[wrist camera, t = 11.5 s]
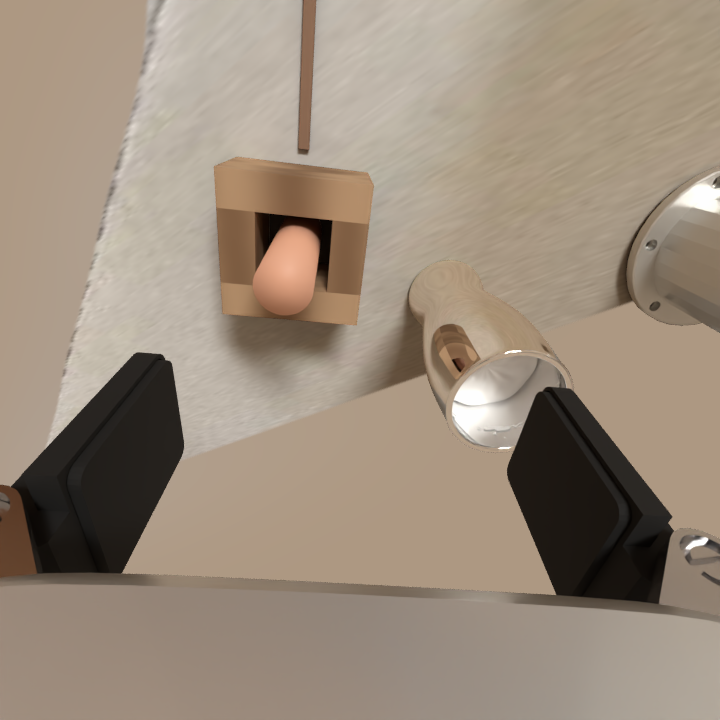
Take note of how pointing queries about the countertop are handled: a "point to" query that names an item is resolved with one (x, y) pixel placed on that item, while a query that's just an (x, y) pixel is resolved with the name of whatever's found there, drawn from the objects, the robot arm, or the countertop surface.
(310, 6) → the brown thin square rod
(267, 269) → the dowel
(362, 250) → the wooden block with hole
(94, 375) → the countertop surface
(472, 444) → the beer glass
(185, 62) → the countertop surface
